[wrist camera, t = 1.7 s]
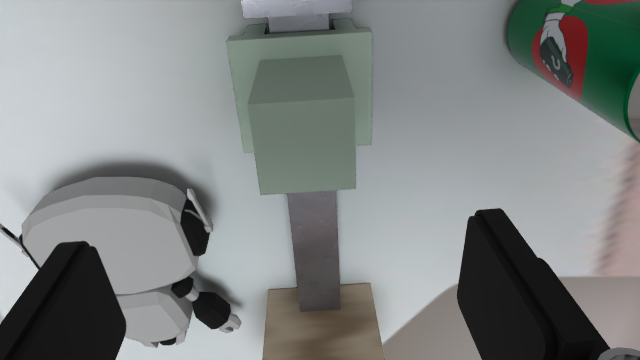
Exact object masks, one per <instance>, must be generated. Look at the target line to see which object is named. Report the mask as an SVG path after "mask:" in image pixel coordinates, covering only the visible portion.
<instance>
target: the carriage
mask: <svg viewBox="0 0 640 360" xmlns="http://www.w3.org/2000/svg"><path fill="white" fill-rule="evenodd" d="M332 22H333V30H322V31H306V32H290V33H275V34H268V32H267V24H258V25H248V27H247V29H246V31H245V33H244V35H243V36H229V37H228V39H227V41H226V43H227V50H228V56H229V62H230V68H231V75H232V81H233V87H234V93H235V99H236V106H237V112H238V118H239V124H240V131H241V137H242V143H243V149H244V153H252V152H254V154H255V161H256V168H257V174H258V181H259V188H260V195H268V194H283V193H299V192H314V191H329V190H344V189H356V156H355V146H359V145H372V30H371V29H370V27H368V28H355V26H354V24H353V22H352V20H351V19H336V20H332Z"/></svg>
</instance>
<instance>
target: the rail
mask: <svg viewBox="0 0 640 360" xmlns="http://www.w3.org/2000/svg"><path fill="white" fill-rule="evenodd" d="M241 3H242V11H243V18H244V19H248V18H264V17H268V22H269V31H270V34H275V33H290V32H306V31H322V30H329V13H342V12H352V3H351V0H241ZM287 196H288V205H289V214H290V223H291V232H292V241H293V250H294V260H295V269H296V278H297V287H298V296H299V305H300V312H310V311H325V310H340V309H341V300H340V276H339V252H338V228H337V204H336V190H329V191H314V192H299V193H287Z"/></svg>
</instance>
